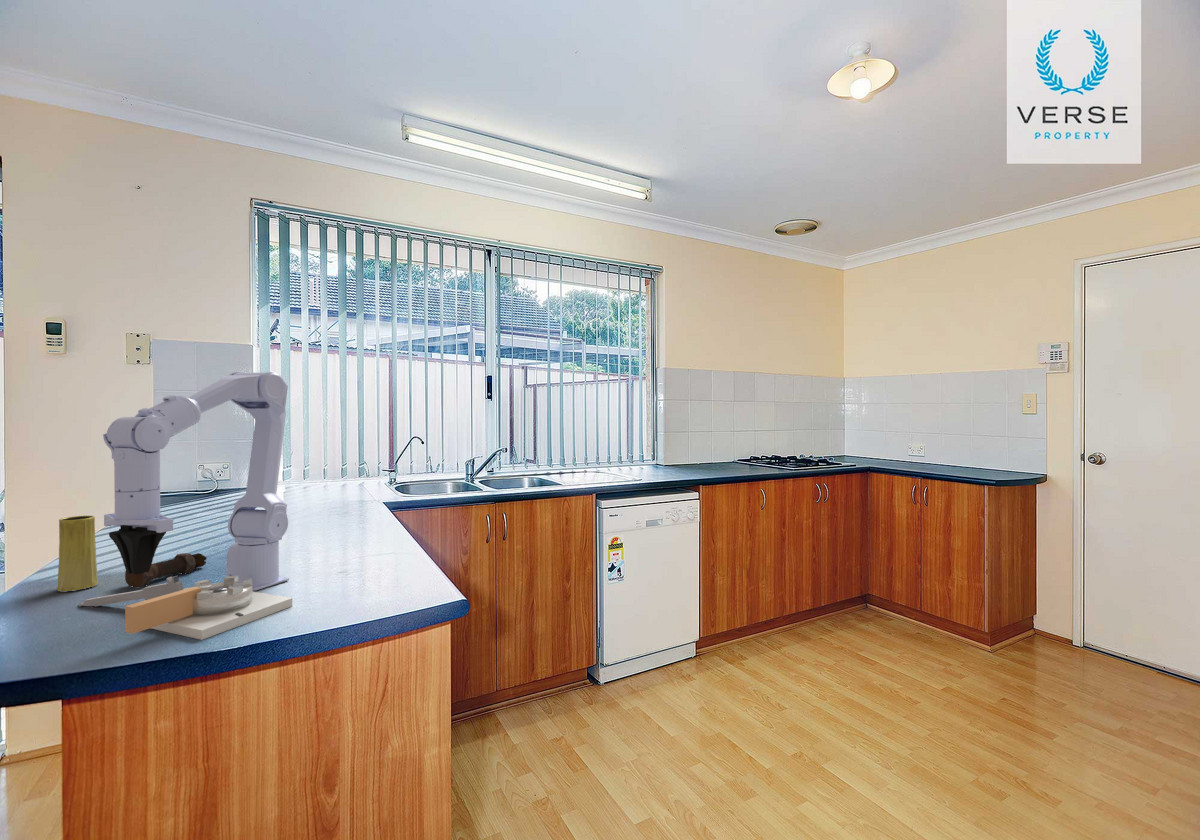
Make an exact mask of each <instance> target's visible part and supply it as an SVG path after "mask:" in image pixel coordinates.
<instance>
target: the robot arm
mask: <svg viewBox="0 0 1200 840" xmlns="http://www.w3.org/2000/svg"><path fill="white" fill-rule="evenodd" d="M288 387H289V386H288V384H287V383H286V381H285V380H284V379H283V377H282V375H280V373H278V372H275V371H267V372H238V371H234V372H231V373H229V374H228V375H223V376H221V377H220V379H219V380H218V381H215V382H213V383H212V384H210V385H208V386H206V387H205V388H203V389H201V390H199V391H198V392H195V393H193V394H192V395H191V396H188V397H187V396H183V395H173V394H172V395H166V396H164V397H162V402H160V403H158V404H155V405H154V406H152V407H149V408H147V407H144V408H141V409H138V410H137V413H136V414H135V416H123V417H119V418H116V419H114V421H112V422H111V424H110V425H109V426H108V428H107V430H106V433H103V435H102V436H103V442H104V443H105V445H106V446H107V447H108V448H109V450H110V451H111V459H113V469H114V470H113V471H114V475H113V477H114V478H113V480H114V482H113V483H114V484H113V485H114V488H113V489H114V513H113V512H112V513H107V514H106V513H105V514H104V515H103V526H104V527H112V526H113V527H120V528H119V529H118V530H114V531H111V532H108V536H109V538H110V539H111V540H112V542H113V543H114V544H115V546H116V548H117V549H118V552H119V554H120V556H121V559H122V562H123V567H124V568H125V571H127V573H128V574H131V573H133V574H134V575H137V574H141V573H145V572H149V570H150V568H151V564H153V560H154V557H155V553H156V551H157V549H158V547H159V544H160V543H161V542H162V539H163V538H164V536H165V535H166V534H167V532H171V531H174V518H171V517H168V516H166V515H165V514H162V513H161V450H164V449H165V448H166V446H167V445H168V444H169V441H170V439H171V438H172V437H174V436H176V435H178V434H180V433H181V432H183V431H185V430H187V429H189V428H191V427H193V426H195V425H196V424H197V423H199V422H200V420H201V416H202V415H201V414H203V413H205V412H207V411H209V410H212V409H214V408H216V407H218V406H220V405H223V404H225V403H227V402H230V401H231V402H232V403H233V404H235V405H236V406H238V407H239V408H241V409H242V410H244V411H245V412H247V413H248V414H250V415H251V416H252V418H253V419H254V426H253V427H254V429H253V436H252V442H251V443H252V444H251V449H250V450H251V451H250V458H249V466H248V467H249V468H248V474H247V482H246V490H245V494H244V495H243V496H242V497H240V498H239V499H238V500H237V501H236V502H234V506H233V511H232V513H231V515H230V517H229V519H228V522H227V530H228V533H229V534H230V536H231V537H232V538H234V542H233V544H231V546H230V547H229V548H228V550H227V553H226V577H227V576H238V581H242V579H246V578H251V579H252V591H253V592H257V591H258V590H262V589H265V588H269V587H271V586H274V585H275V586H276V585H278V584H280V583H284V582H287V581H289V580H290V577H286V576H280V558H279V557H280V541H282V540H283V536H284V535H285V534H286V532H287V530H288V527H289V517H288V514H287V507H288V504H287V503H286V502H285V501H284V500H283V499H281V498H280V497H279V496H278V494H277V491H278V483H279V476H280V475H279V474H280V467H281V457H282V452H283V451H282V449H283V440H284V432H285V425H286V417H287V415H286V413H287V411H286V404H287V396H288V395H287V394H288V390H289V389H288ZM257 508H263V509H257Z"/></svg>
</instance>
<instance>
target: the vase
mask: <svg viewBox="0 0 1200 840" xmlns="http://www.w3.org/2000/svg"><path fill="white" fill-rule="evenodd" d="M95 519H96V518H95V516H94V515H78V516H76V515H75V516H68V517H63V518H60V519H58V526H59V527H58V533H59V536H58V537H59V538H58V540H59V541H58V542H59V543H58V544H59V545H58V570H57V572H58V573H57V586H56V591H57V590H58V591H72V590H79V589H84V588H88V587H92V586H95V585H97V584H98V585H99V580H98V566H97V563H98V562H97V546H96V544H97V543H96V527H95V526H96V524H95V523H96V522H95V521H96V520H95ZM95 587H96V586H95ZM92 588H93V587H92ZM58 591H57V592H58Z"/></svg>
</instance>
